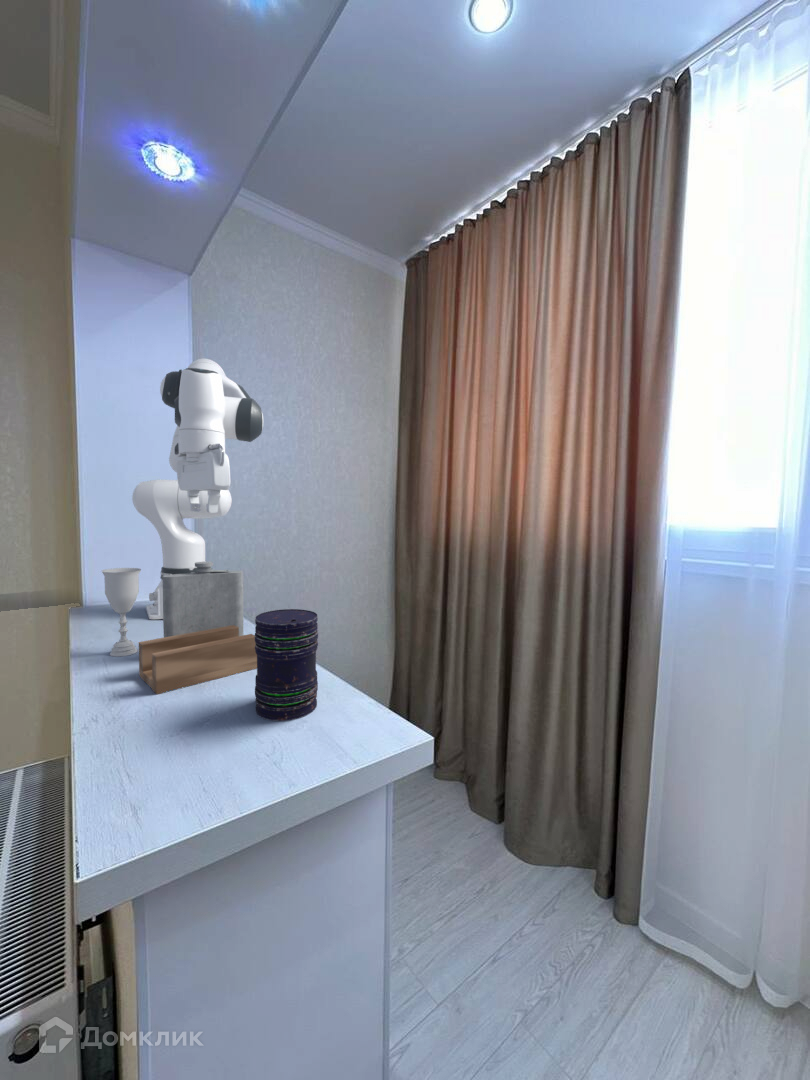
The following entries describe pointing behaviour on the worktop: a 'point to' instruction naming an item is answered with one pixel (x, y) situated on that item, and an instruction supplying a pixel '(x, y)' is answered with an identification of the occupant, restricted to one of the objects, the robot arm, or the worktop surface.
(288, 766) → the worktop surface
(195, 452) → the robot arm
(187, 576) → the hip flask
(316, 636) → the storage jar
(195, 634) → the u rest
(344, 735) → the worktop surface
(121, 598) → the chalice
